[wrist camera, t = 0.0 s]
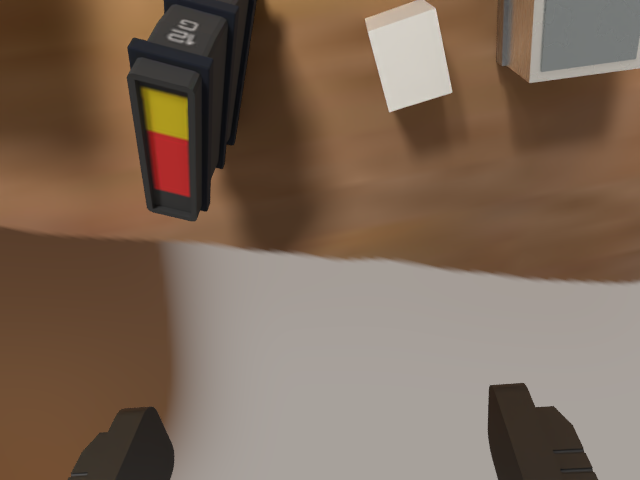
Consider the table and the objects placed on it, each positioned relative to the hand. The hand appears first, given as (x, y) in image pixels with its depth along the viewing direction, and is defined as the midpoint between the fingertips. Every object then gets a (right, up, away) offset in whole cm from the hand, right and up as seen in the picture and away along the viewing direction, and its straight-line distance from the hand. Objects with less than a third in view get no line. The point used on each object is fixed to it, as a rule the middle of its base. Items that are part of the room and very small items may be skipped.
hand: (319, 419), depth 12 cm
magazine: (-7, +17, +25) cm, 31 cm away
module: (+6, +18, +23) cm, 30 cm away
